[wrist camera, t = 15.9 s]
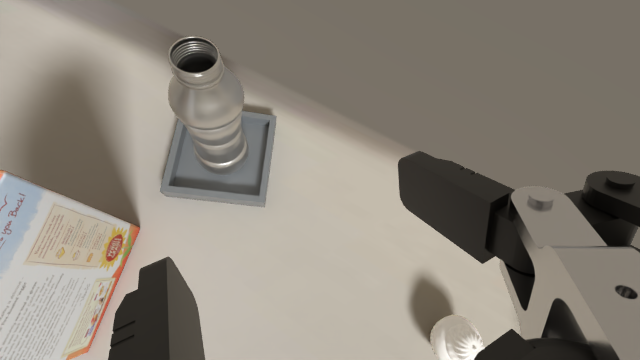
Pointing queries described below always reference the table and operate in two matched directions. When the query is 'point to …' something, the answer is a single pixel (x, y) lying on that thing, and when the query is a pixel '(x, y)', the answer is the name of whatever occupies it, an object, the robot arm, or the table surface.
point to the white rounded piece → (455, 339)
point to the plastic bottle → (208, 104)
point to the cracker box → (55, 270)
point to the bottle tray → (235, 188)
